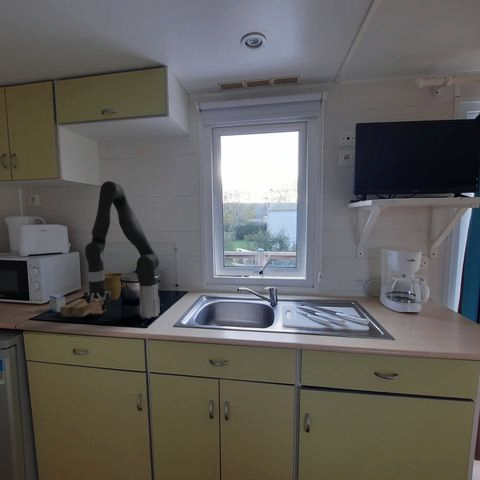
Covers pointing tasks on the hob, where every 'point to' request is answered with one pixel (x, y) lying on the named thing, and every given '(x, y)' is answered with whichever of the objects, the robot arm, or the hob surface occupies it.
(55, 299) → the medicine box
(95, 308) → the terracotta block
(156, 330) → the hob surface
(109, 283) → the plant pot
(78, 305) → the walnut plinth
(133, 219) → the robot arm
